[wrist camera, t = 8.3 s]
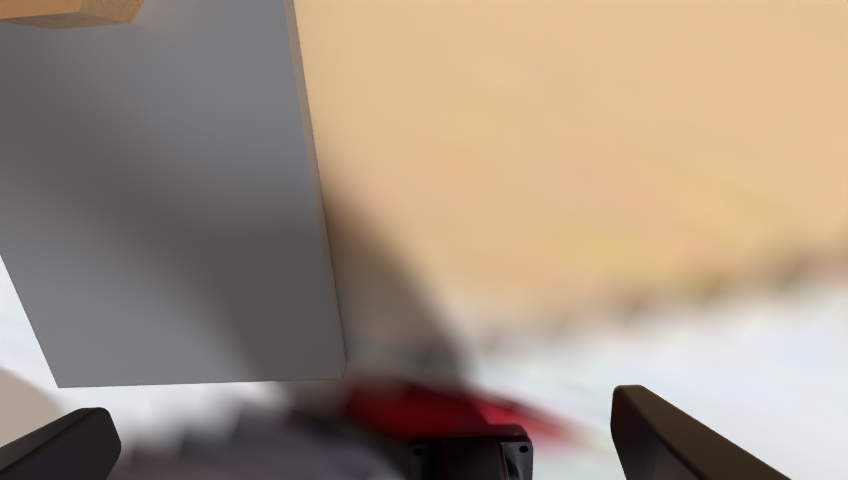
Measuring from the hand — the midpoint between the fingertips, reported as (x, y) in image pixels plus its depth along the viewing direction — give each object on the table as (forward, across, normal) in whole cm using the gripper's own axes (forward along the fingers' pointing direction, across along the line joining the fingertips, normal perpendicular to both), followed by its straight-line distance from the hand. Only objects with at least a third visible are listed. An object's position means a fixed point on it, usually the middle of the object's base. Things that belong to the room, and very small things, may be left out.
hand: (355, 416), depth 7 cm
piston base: (+12, +10, -5) cm, 16 cm away
